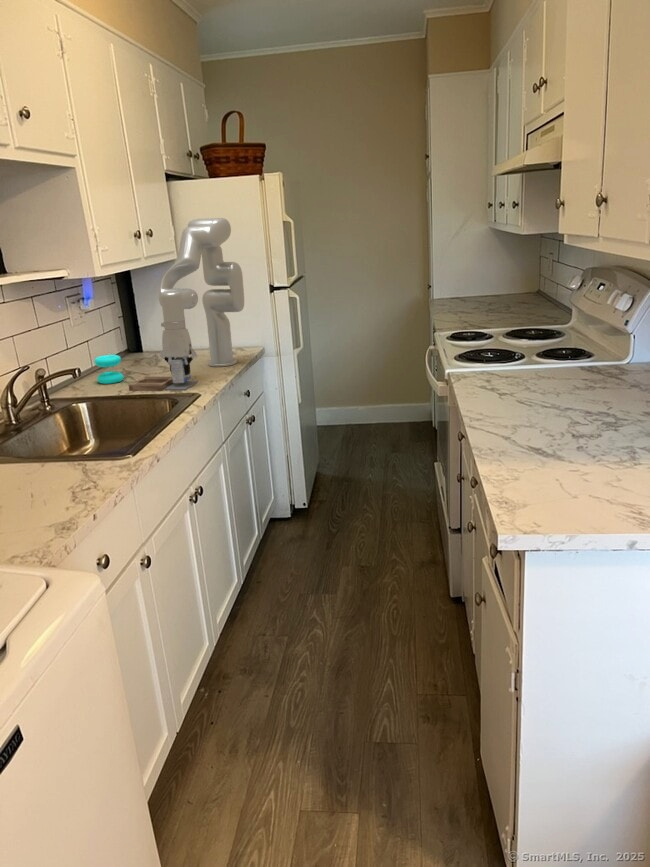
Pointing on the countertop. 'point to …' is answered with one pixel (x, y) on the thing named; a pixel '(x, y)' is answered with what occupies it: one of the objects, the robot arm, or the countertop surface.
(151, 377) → the board
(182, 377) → the medicine box
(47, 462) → the countertop surface
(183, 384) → the slate mat
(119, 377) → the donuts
